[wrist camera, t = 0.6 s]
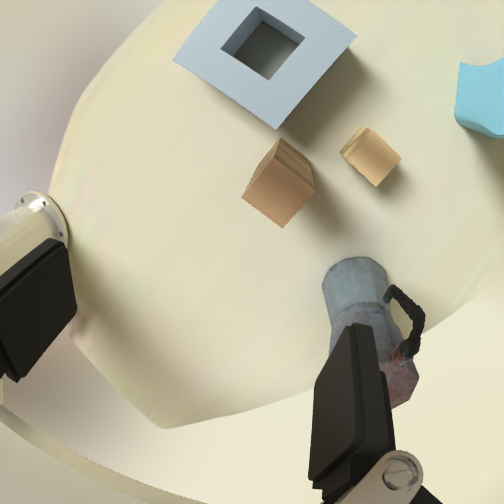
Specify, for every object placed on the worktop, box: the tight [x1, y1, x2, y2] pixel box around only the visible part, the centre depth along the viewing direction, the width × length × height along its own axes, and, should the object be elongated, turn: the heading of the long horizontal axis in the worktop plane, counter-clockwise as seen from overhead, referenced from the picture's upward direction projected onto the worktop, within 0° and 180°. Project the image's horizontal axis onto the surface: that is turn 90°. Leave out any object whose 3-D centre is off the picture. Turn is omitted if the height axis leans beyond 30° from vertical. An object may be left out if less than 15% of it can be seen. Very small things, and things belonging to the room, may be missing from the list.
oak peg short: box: [340, 126, 402, 187], centre depth 30 cm, size 4×4×5 cm
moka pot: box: [322, 257, 425, 409], centre depth 31 cm, size 10×15×20 cm, turn 168°
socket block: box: [172, 0, 357, 130], centre depth 25 cm, size 12×12×6 cm
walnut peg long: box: [241, 138, 316, 228], centre depth 29 cm, size 4×4×12 cm
